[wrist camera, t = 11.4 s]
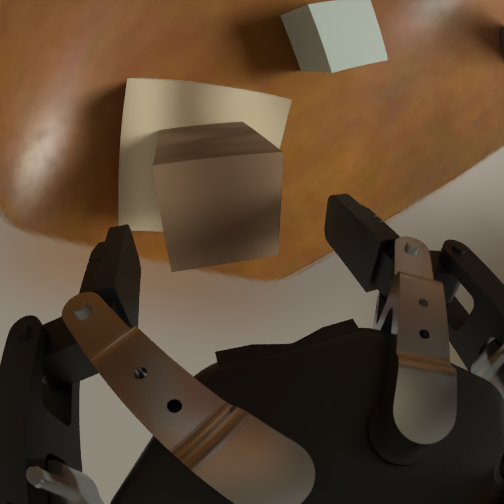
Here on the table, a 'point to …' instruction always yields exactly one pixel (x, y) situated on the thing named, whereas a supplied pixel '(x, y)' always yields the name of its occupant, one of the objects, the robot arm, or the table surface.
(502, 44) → the candle holder
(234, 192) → the walnut block
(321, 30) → the grey cube
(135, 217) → the oak block
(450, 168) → the table surface
